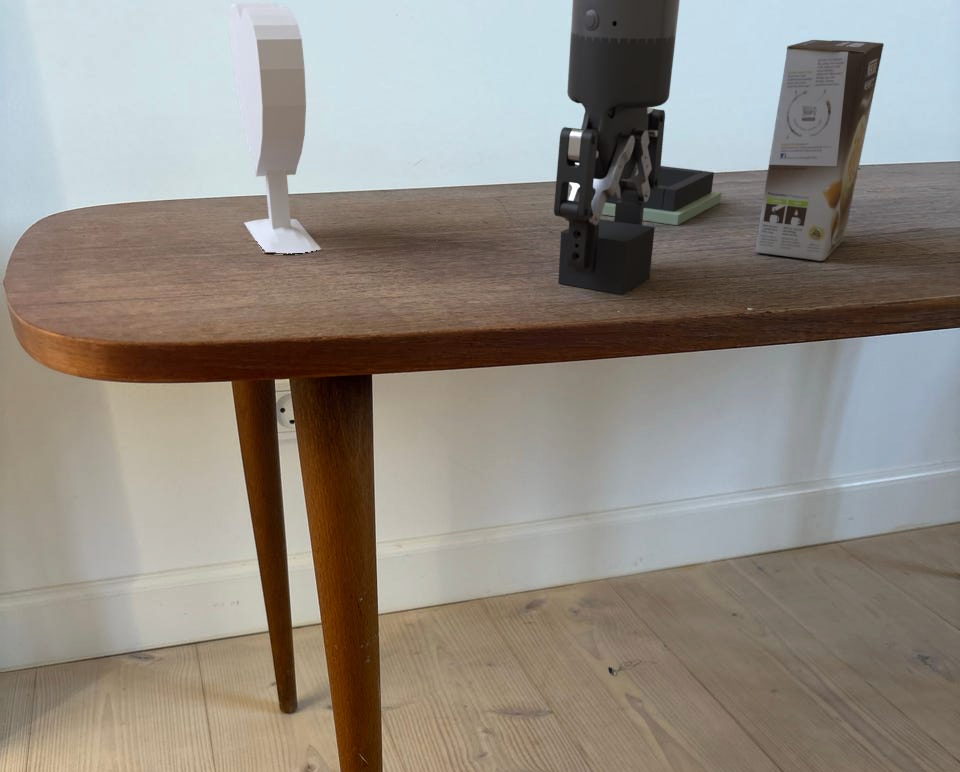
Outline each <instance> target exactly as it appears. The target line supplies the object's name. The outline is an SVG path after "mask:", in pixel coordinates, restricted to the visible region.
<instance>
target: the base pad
mask: <svg viewBox="0 0 960 772" xmlns="http://www.w3.org/2000/svg"><path fill="white" fill-rule="evenodd" d="M714 175H715V172H714V171H707V170H699V169H693V168H683V167H674V166H665V165H661V168H660V180H659V185H658V188H657V189H656V190H651V189H650V196H649V199H648V201H647V202H643V204H644V211H643V221H644V222H649V223H656V224H664V225H671V226H679V225H681V224H683V223H685V222H687V221H688V220H690V219H692V218H694V217H696V216H698V215H700V214H701V213H703V212H705V211H707V210H708V209H710V208H712V207H714V206H717V205H718V204H720V203H721V199H722V192H720V191H713V184H714ZM568 199H569V198H568ZM568 199H567V200H568ZM593 199H594V196H593V195H592V202H593ZM619 200H621V201H622V199H621V198H618V197H617V194H616V191H615V194H614V195H613V196H612V197H611V198H608V199H607V200H606V202H605V205H604V208H603V211H602V214H601V216H609V217H615V207H616V202H617V201H619ZM592 202H591V205H592ZM643 221H642V222H643Z"/></svg>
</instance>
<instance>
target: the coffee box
mask: <svg viewBox="0 0 960 772" xmlns="http://www.w3.org/2000/svg"><path fill="white" fill-rule="evenodd" d="M884 45H885V44H884V43H883V42H874V41H860V40H859V41H858V40H838V39H837V40H835V39H834V40H825V39H811V40H806V41H802V42H799V43H798V42H797V43H795V44H791V45H787V46H786V55H785V61H784V67H783V75H782V79H781V80H782V81H781V87H780V93H779V97H778V105H777V111H776V117H775V124H774V129H773V137H772V141H771V142H772V143H771V150H770V156H769V162H768V169H767V173H766V181H765V187H764V192H763V198H762V204H761V211H760V218H759V223H758V224H759V225H758V230H757V236H756V242H755V243H756V244H755V249H754V252H755V253H757V254H765V255H771V256H772V255H773V256H780V257H787V258H788V257H789V258H795V259H802V260H803V259H804V260H809V261H810V260H811V261H816V262H822V261H825V260H826V259H827V258H828V257H829V256H830V255H831V254H832V253H833V252H834V251H835V249H837V248H838V247H839V246H840V245H841V243H842V242H843V241H844V240H845V236H846V232H847V226H848V222H849V217H850V212H851V207H852V202H853V197H854V194H855V193H854V192H855V188H856V183H857V178H858V174H859V173H858V172H859V168H860V164H861V163H860V162H861V157H862V153H863V148H864V143H865V139H866V133H867V128H868V123H869V119H870V113H871V109H872V104H873V99H874V94H875V89H876V84H877V79H878V74H879V69H880V64H881V61H882V60H881V59H882V54H883V49H884Z"/></svg>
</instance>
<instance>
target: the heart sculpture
mask: <svg viewBox="0 0 960 772" xmlns="http://www.w3.org/2000/svg"><path fill="white" fill-rule="evenodd" d="M229 9H230V10H229V14H228V30H229V40H230V50H231V52H230V53H231V60H232V66H233V67H232V69H233V75H234V84H235V88H236V94H237V101H238V108H239V112H240V117H241V121H242V126H243V131H244V135H245V139H246V143H247V148H248V150H249V154H250V158H251V162H252V166H253V170H254V174H255V177H264V181H265V190H266V201H267V212H268V218H263V219H262V218H261V219H255V220H251V221H246V222H245V221H244V222H243V224H244V225H245V227H246V228H247V230H248V232H249V233H250V235H251V236H252V238H253V239H254V240H255V242H256V241H257V242H258V243H257V242H256V243H257V245H258V244H259V245H260V246H261V247H262V249H264V250H265V252H276V253H287V254H288V253H291V254H292V253H303V254H306V253H305V252H308V253H312V252H311V251H313V252H317V251H320V250H322V248H321V247H320V245H319V244H318V243H317V242H316V241H315V240H314V239H313V236H311V235H310V234H309V233H308V231H307V230H306V229H305V228H304V226H303V225H302V224H301V223H300V222H299V220H297V219H295V218H291V209H290V196H289V184H288V176H295V175H296V174H297V169H298V165H299V162H300V160H301V156H302V152H303V148H304V147H303V146H304V142H305V141H304V140H305V135H306V115H307V96H306V94H307V93H306V71H305V59H304V58H305V57H304V50H303V49H304V48H303V38H302V35H301V31H300V26H299V23H298V21H297V19H296V17H295V14H294V13H293V12H292V10H291V8H289V7H288V6H287V7H286V6H284V7H283V6H282V7H281V6H280V5H279V4H278V3H276V2H273V3H272V2H271V3H269V2H264V3H261V2H260V3H259V2H254V3H253V2H251V3H248V2H247V3H246V2H245V3H242V2H241V3H239V2H238V3H236V2H235V3H234V2H233V3H232V4H231V6H230V8H229ZM259 245H258V246H259ZM260 246H259V247H260ZM262 249H261V250H262ZM316 250H317V251H316Z"/></svg>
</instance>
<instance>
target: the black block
mask: <svg viewBox="0 0 960 772" xmlns="http://www.w3.org/2000/svg"><path fill="white" fill-rule="evenodd" d="M598 224H599V235H598V248H597V260H596V269H595V271H594V272H593V273H591V274H589V275H581V274H576V273H571V272H569V271H568V270H567V267H566V264H567V248H568V232H569V228H566V229H564V230H563V231H561V232H560V241H559V242H560V244H559V261H558V262H559V263H558V282H557V283H558V284H560V285H565V286H571V287H576V288H582V289H586V290H588V289H589V290H593V291H600V292H604V293H611V294H617V295H624V294H625V293H627V292H628V291H630V290H632V289H634V288H636V287H638V285H640V284H642V283H643V282H645V281H647V280H648V279H650V276H651V268H652V259H653V257H652V256H653V248H654V239H655V226H649V225H643V224H642V225H637V224H630V223H623V222H616V221H614V220H610V219H602V218H600V220H599V222H598Z"/></svg>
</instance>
